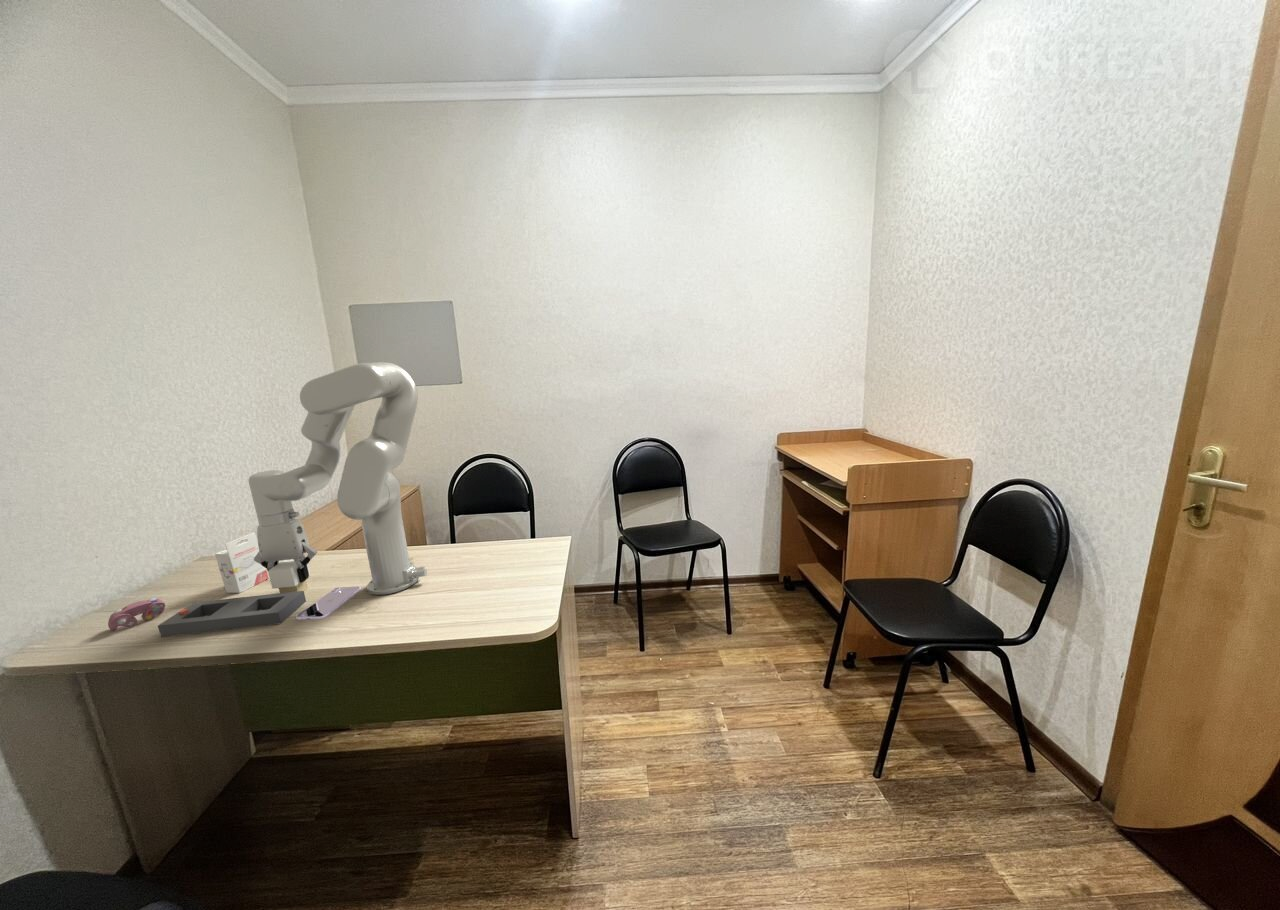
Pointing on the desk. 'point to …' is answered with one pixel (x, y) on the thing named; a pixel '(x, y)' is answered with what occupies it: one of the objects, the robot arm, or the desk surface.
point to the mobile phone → (328, 603)
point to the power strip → (233, 613)
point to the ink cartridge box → (240, 565)
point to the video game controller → (136, 613)
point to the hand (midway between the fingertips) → (291, 580)
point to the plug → (287, 577)
